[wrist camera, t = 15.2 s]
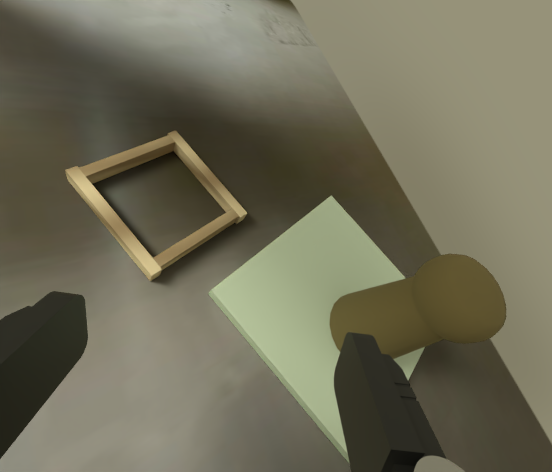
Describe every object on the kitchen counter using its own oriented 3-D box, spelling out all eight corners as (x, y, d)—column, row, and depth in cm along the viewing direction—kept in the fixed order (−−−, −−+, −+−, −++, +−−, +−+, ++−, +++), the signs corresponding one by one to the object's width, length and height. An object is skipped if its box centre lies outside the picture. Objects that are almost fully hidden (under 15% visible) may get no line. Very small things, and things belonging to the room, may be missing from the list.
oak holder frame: (67, 180, 22) (65, 170, 21) (173, 139, 28) (175, 130, 27) (150, 281, 22) (151, 275, 21) (242, 219, 27) (247, 213, 26)
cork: (373, 288, 28) (487, 235, 19) (400, 357, 26) (542, 332, 17) (319, 299, 25) (425, 242, 16) (344, 377, 23) (482, 359, 14)
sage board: (208, 293, 23) (211, 289, 22) (326, 200, 32) (331, 195, 31) (353, 468, 22) (362, 471, 21) (432, 318, 31) (440, 316, 30)
